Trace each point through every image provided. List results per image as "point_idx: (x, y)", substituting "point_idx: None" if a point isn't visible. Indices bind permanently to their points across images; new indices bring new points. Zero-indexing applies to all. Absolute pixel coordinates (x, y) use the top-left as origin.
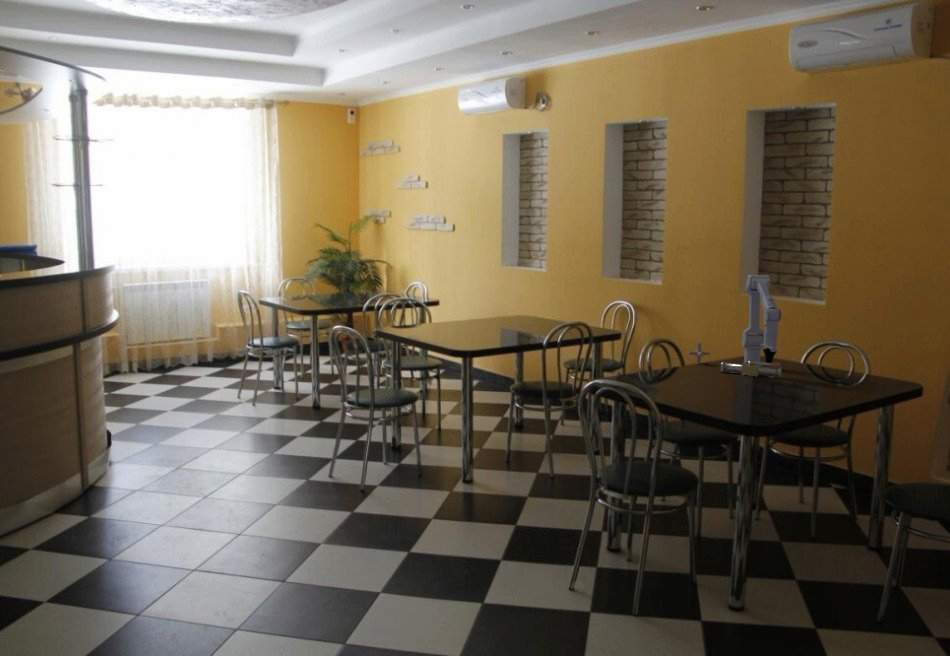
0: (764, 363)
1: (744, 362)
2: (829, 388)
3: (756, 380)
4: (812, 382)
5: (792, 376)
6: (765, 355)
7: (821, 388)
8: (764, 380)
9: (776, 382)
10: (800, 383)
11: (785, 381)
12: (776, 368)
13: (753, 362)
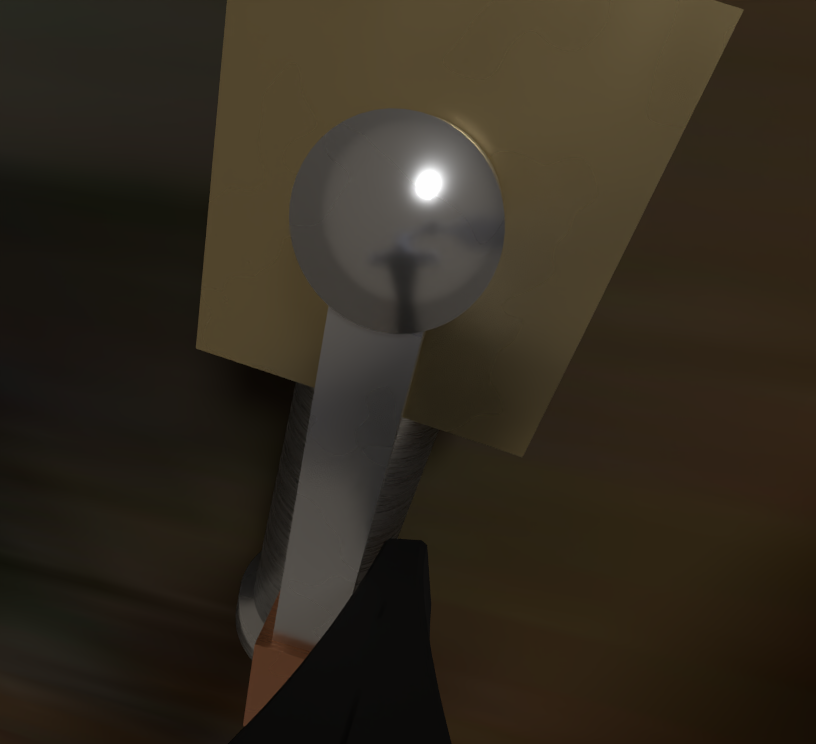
0: (299, 517)
1: (677, 2)
2: (56, 738)
3: (15, 216)
4: (230, 723)
5: (477, 677)
6: (262, 735)
7: (20, 698)
8: (82, 333)
9: (44, 445)
10: (131, 634)
11: (156, 545)
12: None
13: (318, 278)
